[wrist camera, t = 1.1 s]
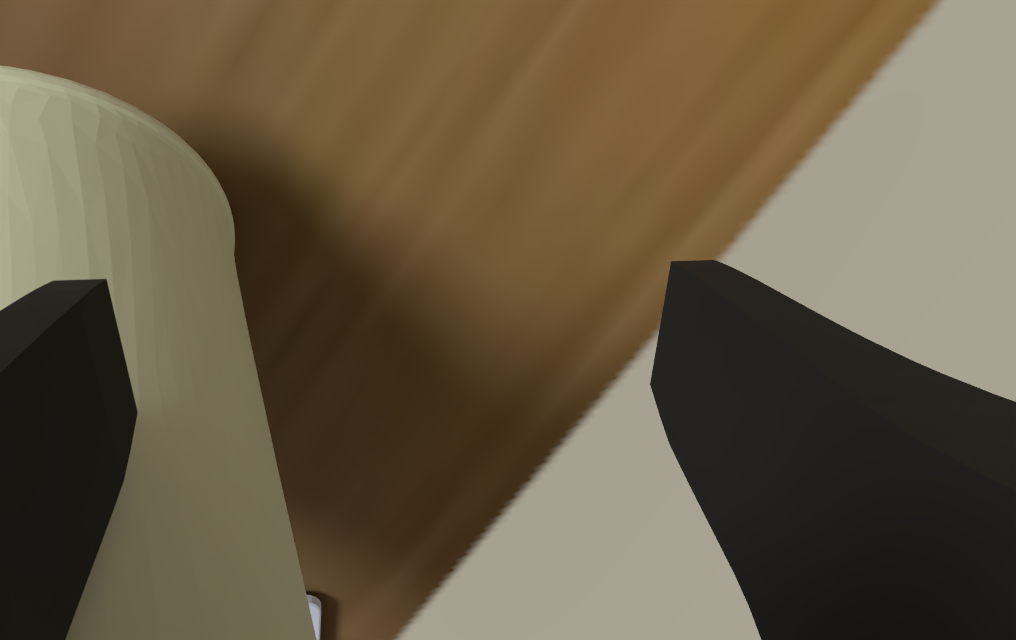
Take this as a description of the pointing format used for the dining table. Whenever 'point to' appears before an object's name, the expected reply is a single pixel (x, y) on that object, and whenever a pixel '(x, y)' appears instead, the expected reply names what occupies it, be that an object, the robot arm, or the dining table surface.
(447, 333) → the dining table surface
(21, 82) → the can
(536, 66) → the dining table surface
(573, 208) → the dining table surface
